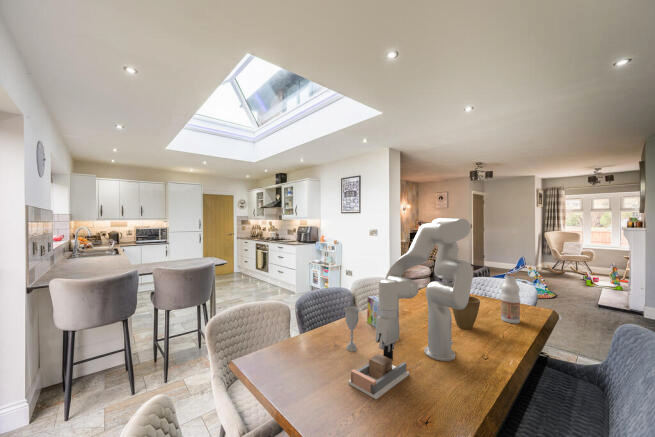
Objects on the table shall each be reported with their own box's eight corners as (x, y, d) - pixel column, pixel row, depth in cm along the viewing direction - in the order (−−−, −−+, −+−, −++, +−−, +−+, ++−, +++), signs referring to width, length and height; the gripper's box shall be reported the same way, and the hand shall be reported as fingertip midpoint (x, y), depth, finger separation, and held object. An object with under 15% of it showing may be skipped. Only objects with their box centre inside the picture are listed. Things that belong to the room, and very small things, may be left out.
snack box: (396, 335, 141) (396, 305, 141) (387, 336, 139) (387, 306, 139) (374, 321, 161) (375, 295, 161) (366, 322, 159) (366, 296, 159)
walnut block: (378, 369, 106) (378, 353, 106) (392, 375, 101) (392, 359, 102) (369, 375, 102) (369, 358, 102) (382, 382, 97) (382, 365, 97)
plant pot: (477, 334, 142) (477, 303, 142) (447, 327, 151) (447, 298, 151) (482, 326, 154) (482, 297, 154) (453, 320, 163) (453, 293, 163)
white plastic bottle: (498, 320, 163) (499, 273, 163) (503, 317, 170) (503, 271, 170) (517, 325, 156) (517, 275, 157) (521, 321, 163) (521, 273, 163)
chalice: (341, 346, 127) (341, 307, 128) (354, 344, 130) (355, 305, 130) (348, 353, 121) (348, 312, 121) (362, 350, 123) (362, 310, 123)
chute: (382, 362, 113) (382, 350, 113) (408, 374, 104) (409, 361, 104) (348, 383, 98) (348, 369, 98) (376, 399, 90) (376, 383, 90)
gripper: (391, 306, 113) (390, 351, 113) (368, 314, 103) (368, 363, 103) (407, 310, 108) (407, 357, 108) (385, 319, 97) (385, 371, 97)
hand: (388, 360), depth 105 cm, fingers closed
